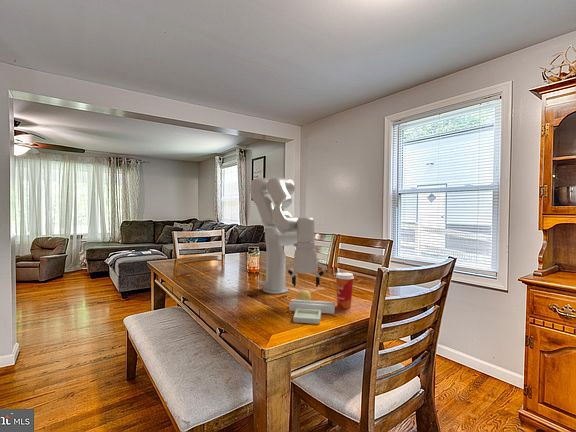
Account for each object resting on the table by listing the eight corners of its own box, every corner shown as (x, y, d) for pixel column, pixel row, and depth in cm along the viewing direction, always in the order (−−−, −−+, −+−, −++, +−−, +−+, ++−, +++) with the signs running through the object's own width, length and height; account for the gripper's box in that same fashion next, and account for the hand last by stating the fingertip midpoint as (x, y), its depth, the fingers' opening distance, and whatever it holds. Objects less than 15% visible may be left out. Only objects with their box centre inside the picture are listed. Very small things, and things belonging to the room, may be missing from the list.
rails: (289, 310, 121) (289, 303, 121) (291, 306, 126) (291, 299, 126) (334, 313, 118) (334, 306, 118) (334, 309, 123) (334, 302, 123)
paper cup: (332, 304, 130) (333, 272, 130) (350, 303, 131) (351, 272, 130) (337, 310, 122) (338, 276, 122) (355, 310, 123) (356, 276, 122)
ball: (296, 305, 127) (296, 291, 127) (297, 301, 133) (298, 287, 133) (310, 306, 126) (310, 292, 126) (311, 302, 132) (311, 288, 132)
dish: (293, 322, 109) (293, 317, 109) (296, 312, 118) (296, 308, 118) (319, 324, 107) (319, 319, 107) (320, 314, 117) (321, 310, 117)
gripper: (284, 246, 126) (284, 287, 126) (325, 247, 123) (325, 288, 123) (287, 245, 134) (287, 283, 133) (326, 245, 131) (326, 284, 131)
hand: (305, 286), depth 128 cm, fingers open, 9 cm apart
